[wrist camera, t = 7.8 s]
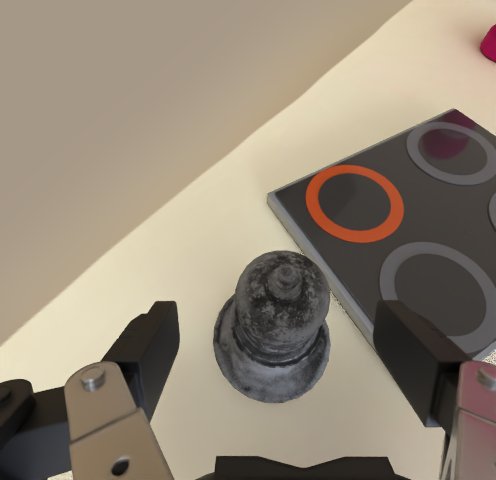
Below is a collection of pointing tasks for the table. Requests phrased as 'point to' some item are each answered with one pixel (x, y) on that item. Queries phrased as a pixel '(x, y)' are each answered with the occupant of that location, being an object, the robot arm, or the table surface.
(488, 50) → the pepper mill
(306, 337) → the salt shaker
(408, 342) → the robot arm
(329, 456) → the table surface
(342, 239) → the hob
